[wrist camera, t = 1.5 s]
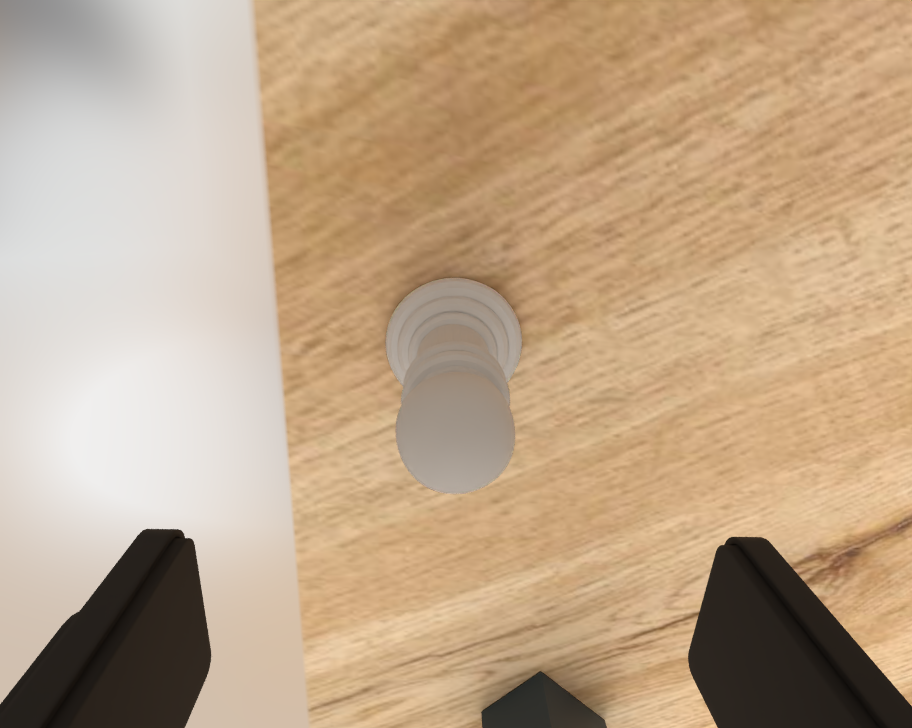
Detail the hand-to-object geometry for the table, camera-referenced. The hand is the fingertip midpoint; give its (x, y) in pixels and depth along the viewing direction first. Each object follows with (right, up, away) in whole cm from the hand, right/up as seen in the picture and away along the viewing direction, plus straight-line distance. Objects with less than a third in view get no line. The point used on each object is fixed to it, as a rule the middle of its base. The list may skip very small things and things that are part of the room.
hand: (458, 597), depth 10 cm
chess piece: (0, +5, +12) cm, 13 cm away
